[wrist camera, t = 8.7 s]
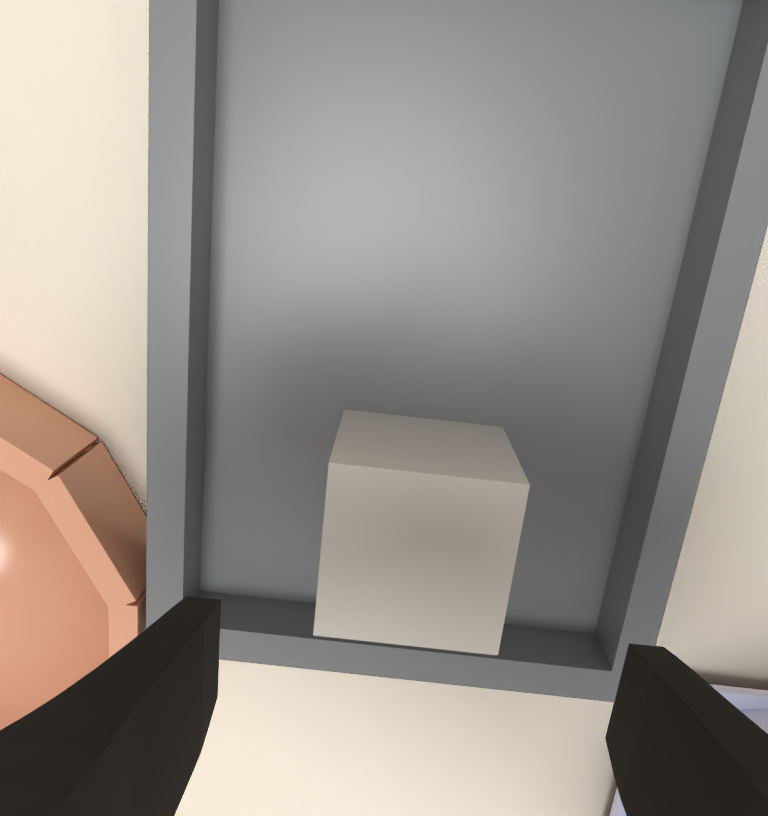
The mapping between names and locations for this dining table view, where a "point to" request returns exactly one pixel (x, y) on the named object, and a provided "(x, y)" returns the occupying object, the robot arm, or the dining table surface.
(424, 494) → the greyish beige cube
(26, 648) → the bowl
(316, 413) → the parts tray
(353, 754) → the dining table surface
